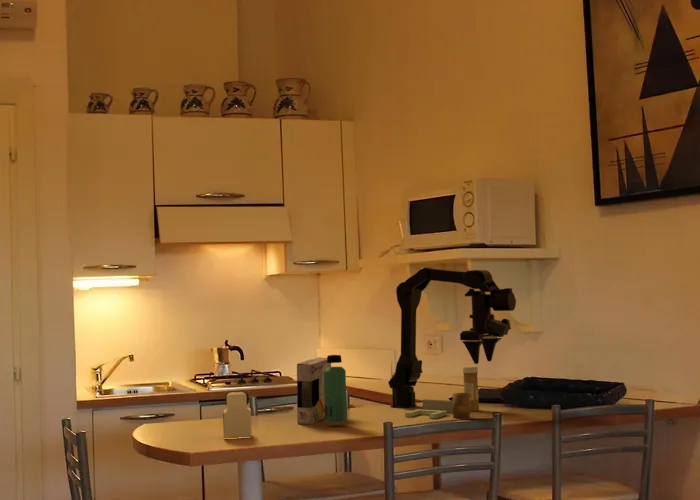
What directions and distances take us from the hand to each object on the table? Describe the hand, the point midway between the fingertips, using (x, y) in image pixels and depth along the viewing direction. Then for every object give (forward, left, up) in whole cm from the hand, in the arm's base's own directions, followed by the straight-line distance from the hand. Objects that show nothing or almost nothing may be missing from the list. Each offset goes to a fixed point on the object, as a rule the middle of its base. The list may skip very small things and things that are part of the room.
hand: (483, 362), depth 292 cm
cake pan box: (-38, -35, -15) cm, 54 cm away
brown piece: (0, -15, -15) cm, 21 cm away
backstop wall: (-12, -7, -15) cm, 20 cm away
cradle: (-11, -16, -15) cm, 25 cm away
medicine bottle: (-39, -69, -15) cm, 81 cm away
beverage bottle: (-25, -43, -15) cm, 52 cm away
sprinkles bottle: (-4, 0, -15) cm, 16 cm away
